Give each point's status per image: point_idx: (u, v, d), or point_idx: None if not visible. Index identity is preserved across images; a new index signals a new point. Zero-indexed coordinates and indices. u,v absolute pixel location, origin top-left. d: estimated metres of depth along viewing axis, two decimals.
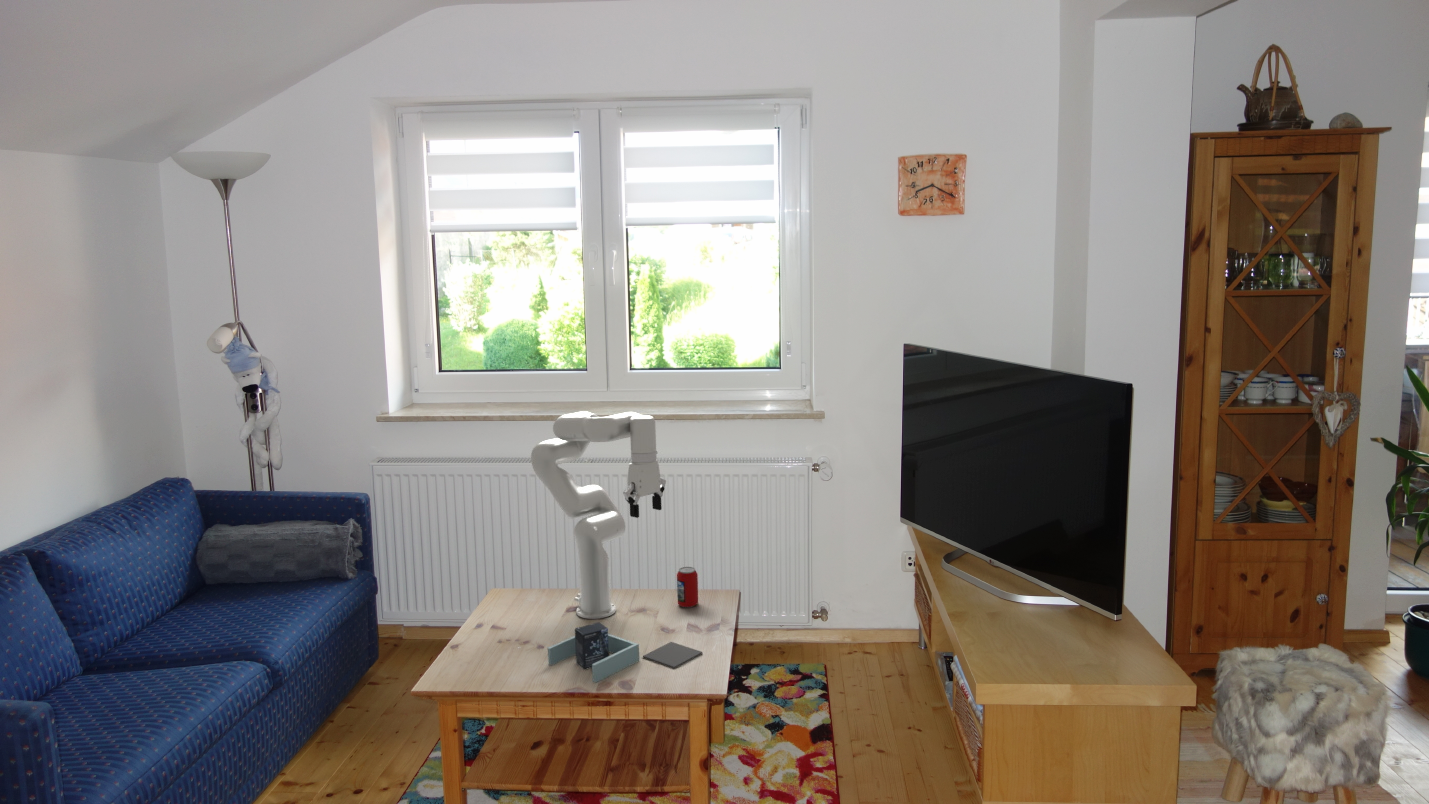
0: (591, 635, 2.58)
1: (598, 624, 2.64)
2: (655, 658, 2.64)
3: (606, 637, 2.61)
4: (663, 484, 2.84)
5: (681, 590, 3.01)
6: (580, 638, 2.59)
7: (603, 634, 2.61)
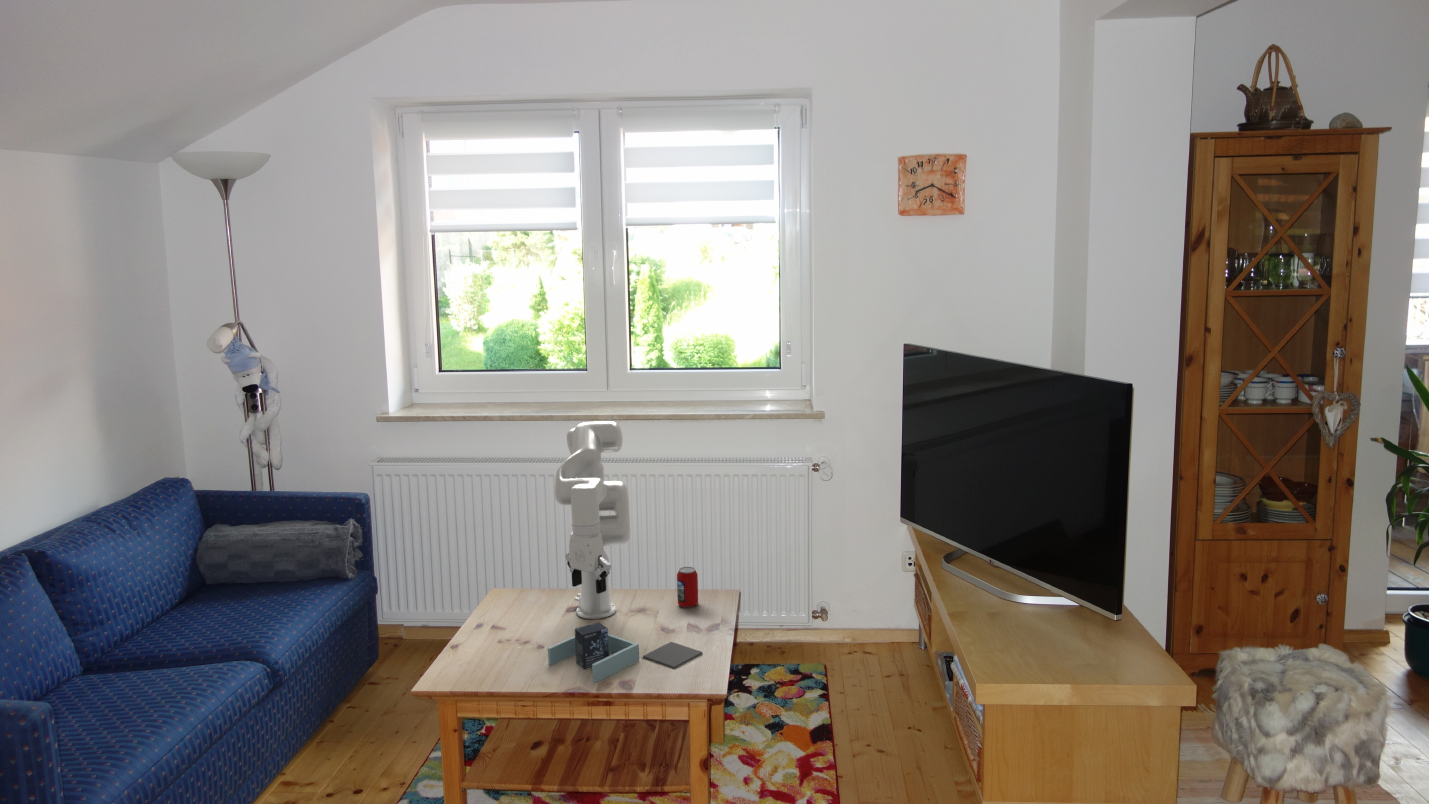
0: (591, 635, 2.58)
1: (598, 624, 2.64)
2: (655, 658, 2.64)
3: (606, 637, 2.61)
4: None
5: (681, 590, 3.01)
6: (580, 638, 2.59)
7: (603, 634, 2.60)
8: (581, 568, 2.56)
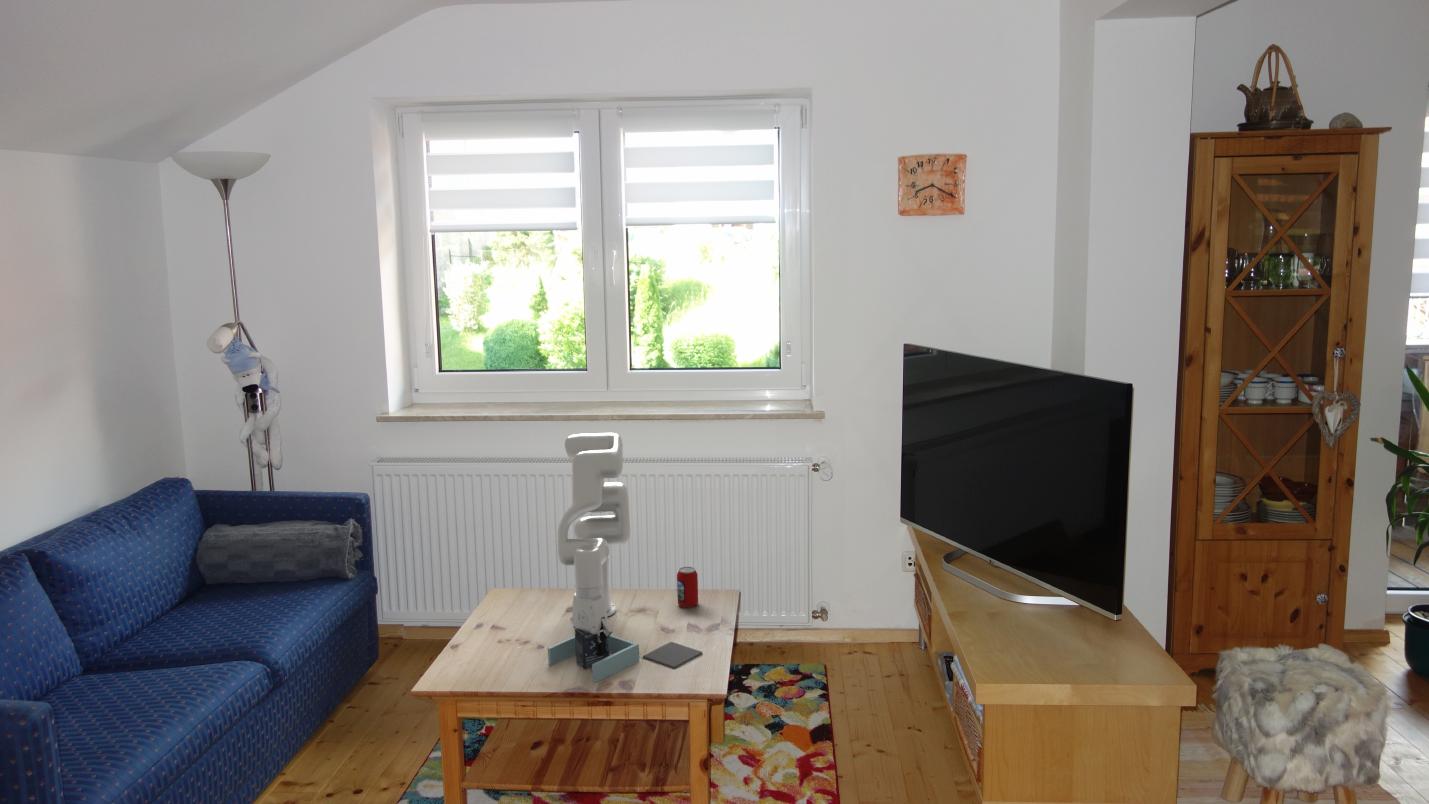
0: (591, 635, 2.58)
1: None
2: (655, 658, 2.64)
3: None
4: None
5: (681, 590, 3.01)
6: (580, 638, 2.59)
7: None
8: (584, 629, 2.59)
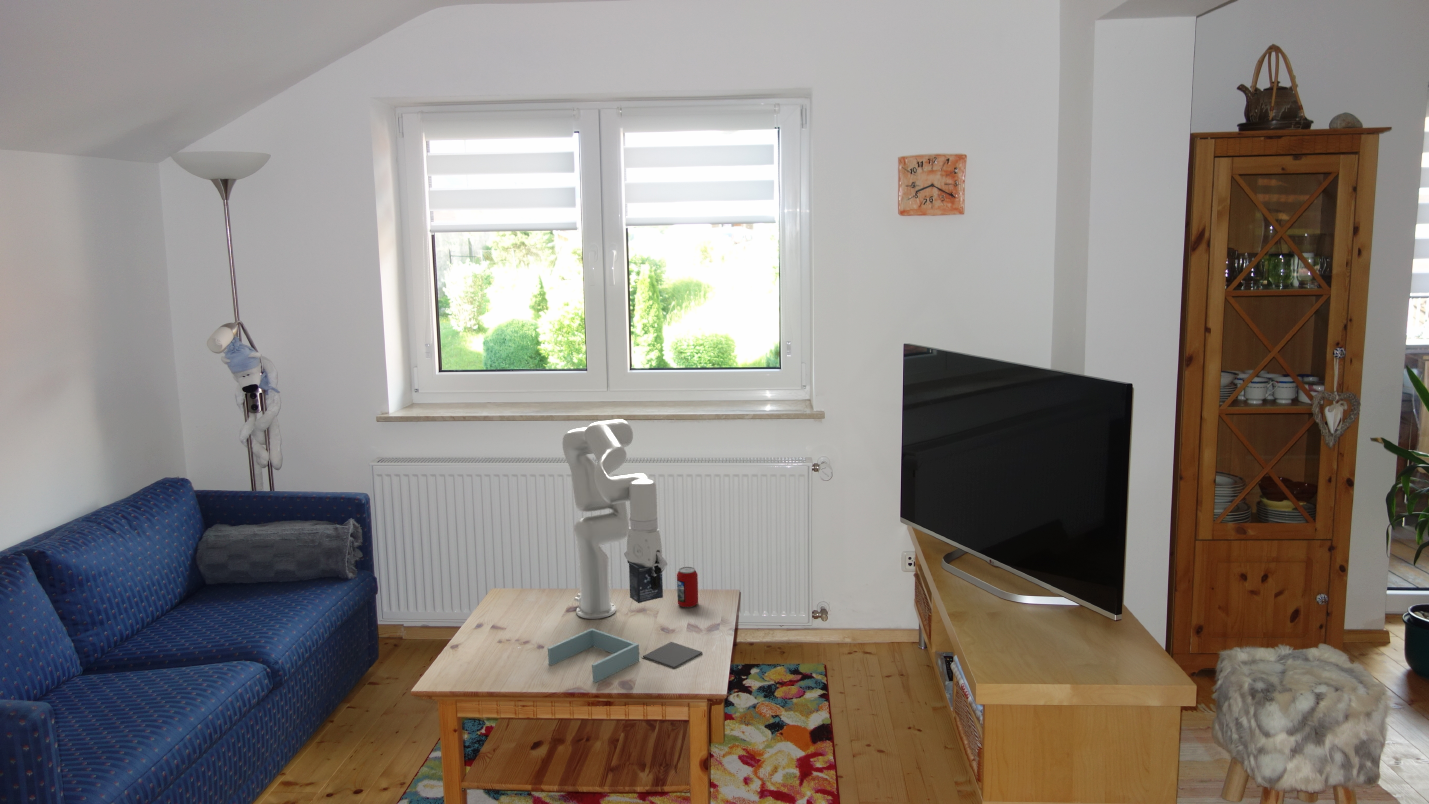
0: (645, 568, 2.58)
1: None
2: (655, 658, 2.64)
3: None
4: None
5: (681, 590, 3.01)
6: (634, 572, 2.59)
7: None
8: (639, 563, 2.58)
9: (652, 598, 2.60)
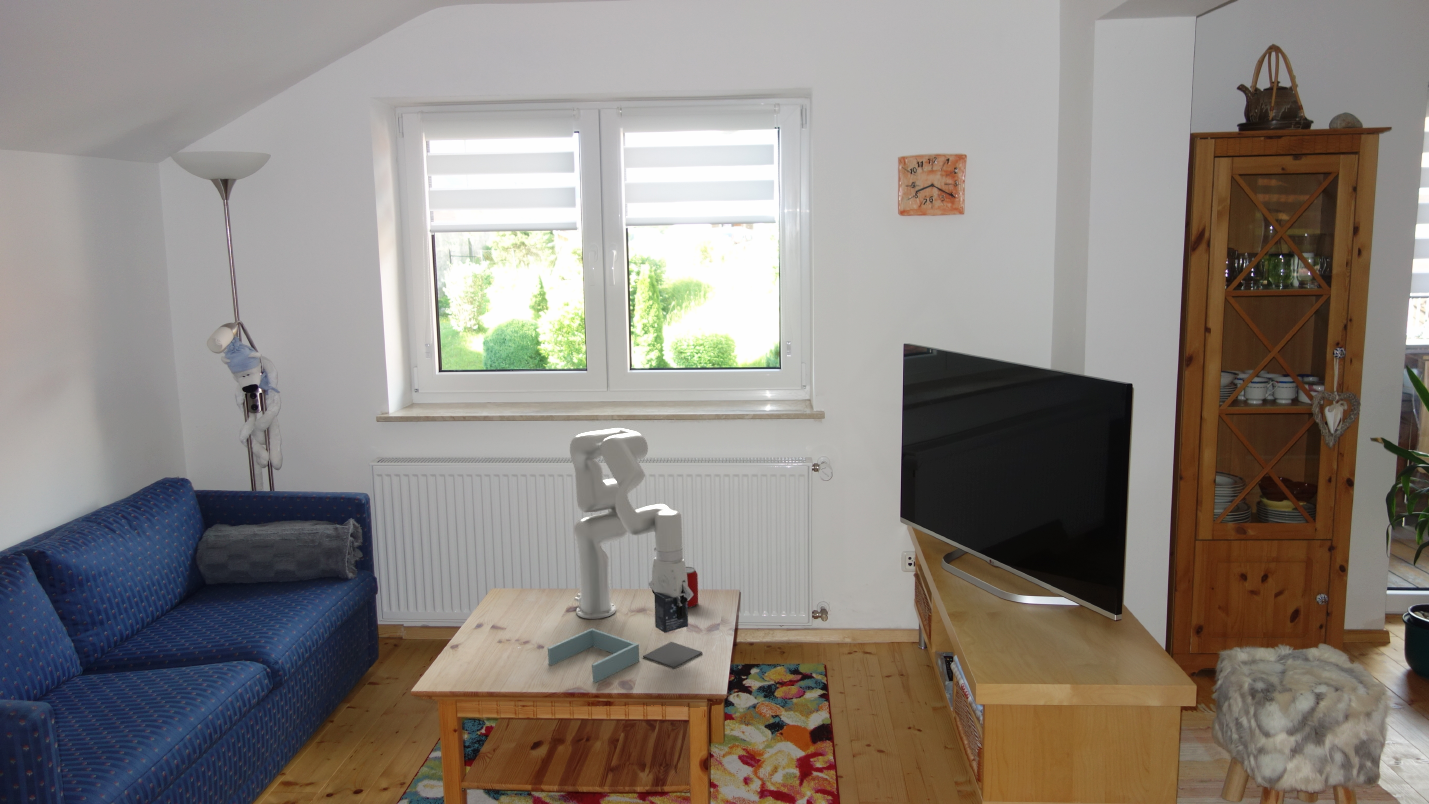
0: (671, 598, 2.60)
1: None
2: (655, 658, 2.64)
3: None
4: None
5: None
6: (660, 602, 2.61)
7: None
8: (665, 593, 2.61)
9: (678, 627, 2.63)
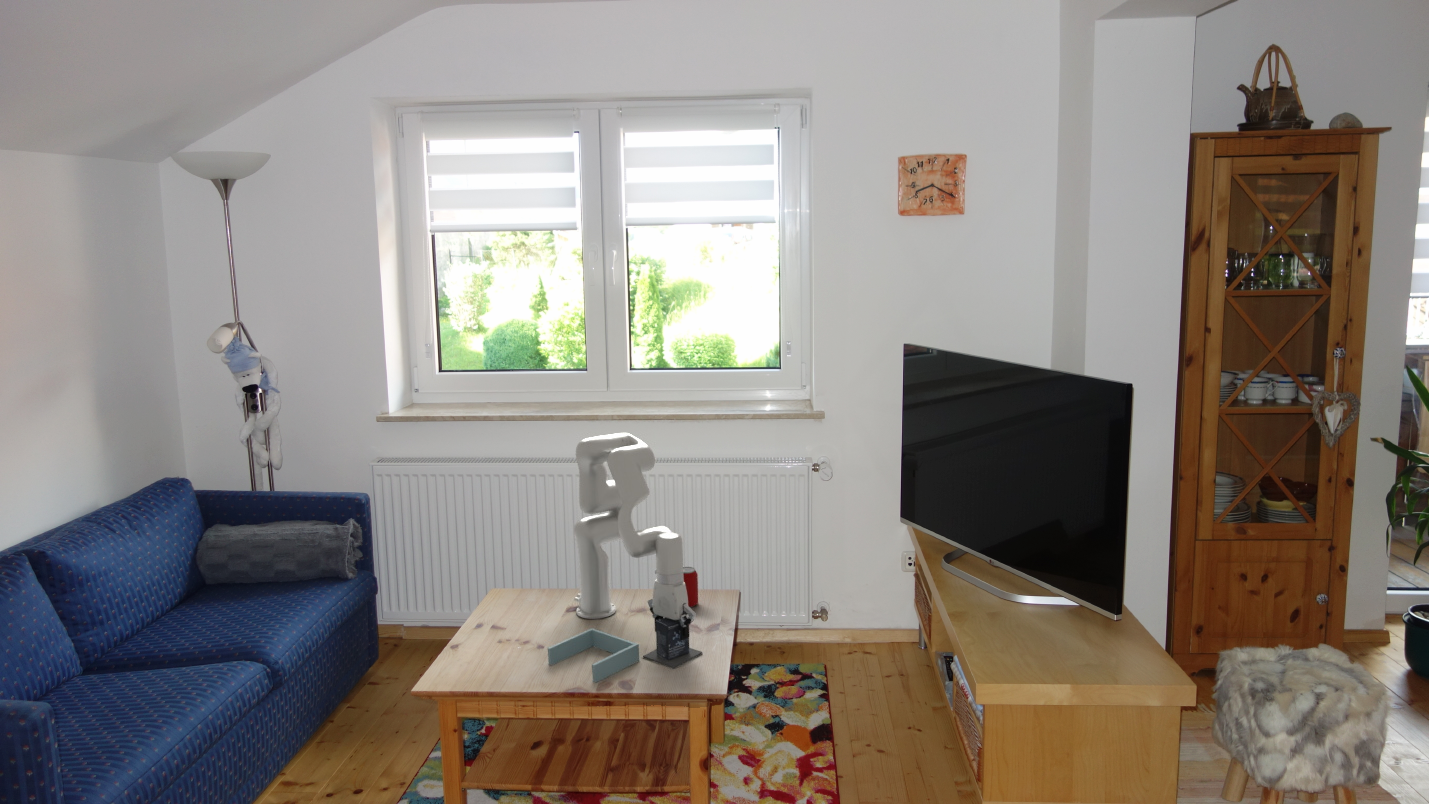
0: (674, 625, 2.62)
1: None
2: (655, 658, 2.64)
3: None
4: None
5: None
6: (662, 629, 2.62)
7: None
8: (665, 615, 2.62)
9: (680, 654, 2.64)
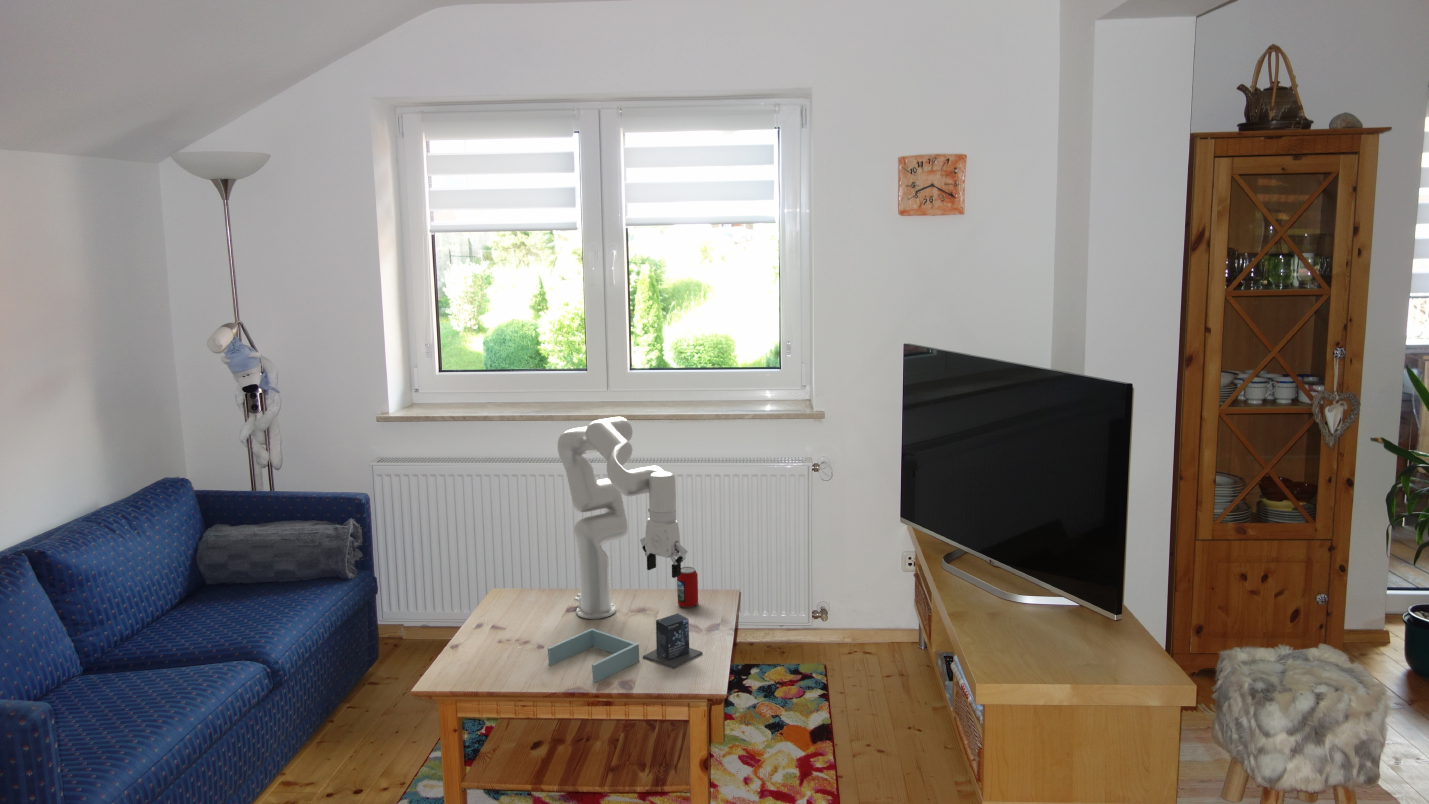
0: (674, 625, 2.62)
1: (677, 615, 2.67)
2: (655, 658, 2.64)
3: (687, 627, 2.65)
4: None
5: (681, 590, 3.01)
6: (662, 629, 2.62)
7: (684, 625, 2.64)
8: (657, 553, 2.64)
9: (680, 654, 2.64)
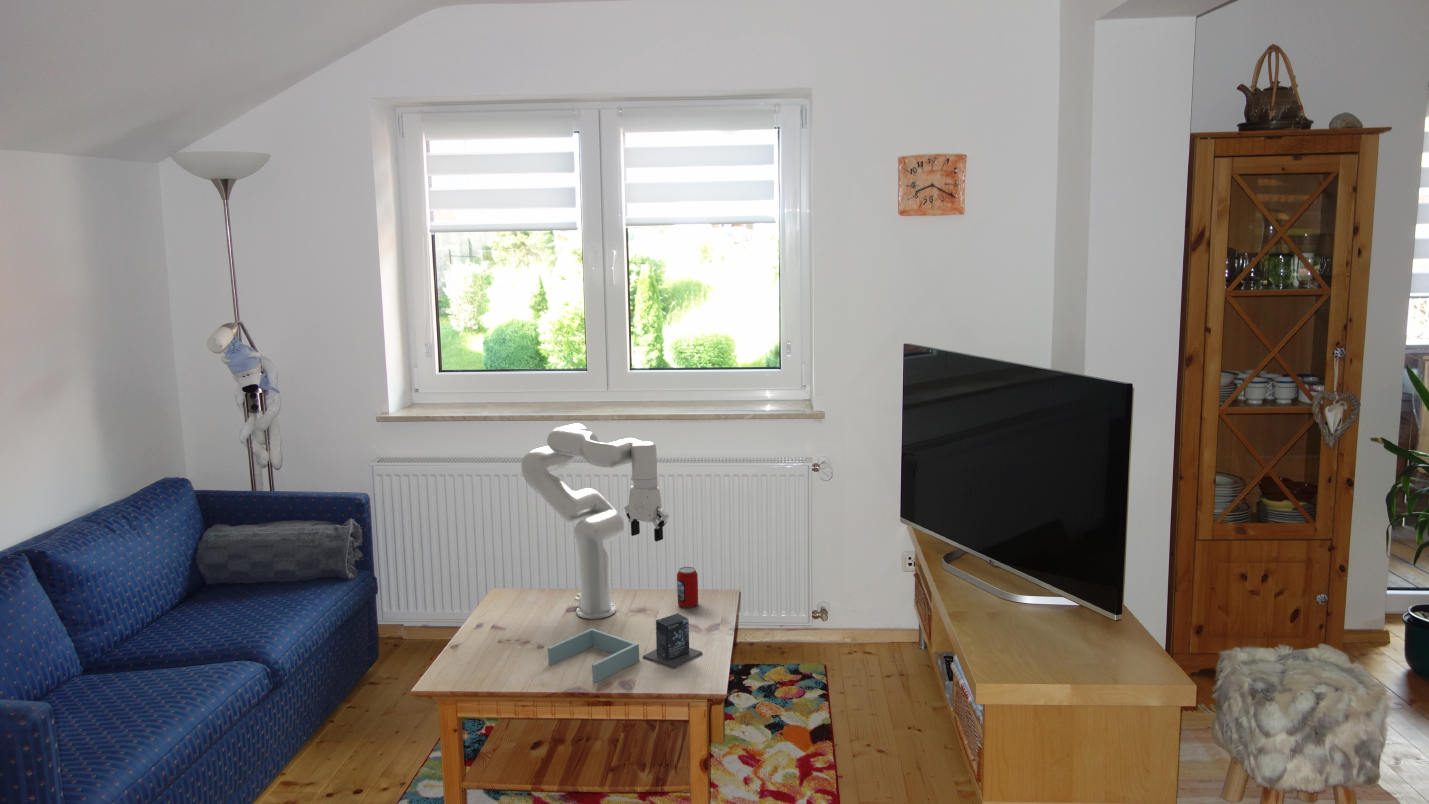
0: (674, 625, 2.62)
1: (677, 615, 2.67)
2: (655, 658, 2.64)
3: (687, 627, 2.65)
4: None
5: (681, 590, 3.01)
6: (662, 629, 2.62)
7: (684, 625, 2.64)
8: (640, 518, 2.80)
9: (680, 654, 2.64)
